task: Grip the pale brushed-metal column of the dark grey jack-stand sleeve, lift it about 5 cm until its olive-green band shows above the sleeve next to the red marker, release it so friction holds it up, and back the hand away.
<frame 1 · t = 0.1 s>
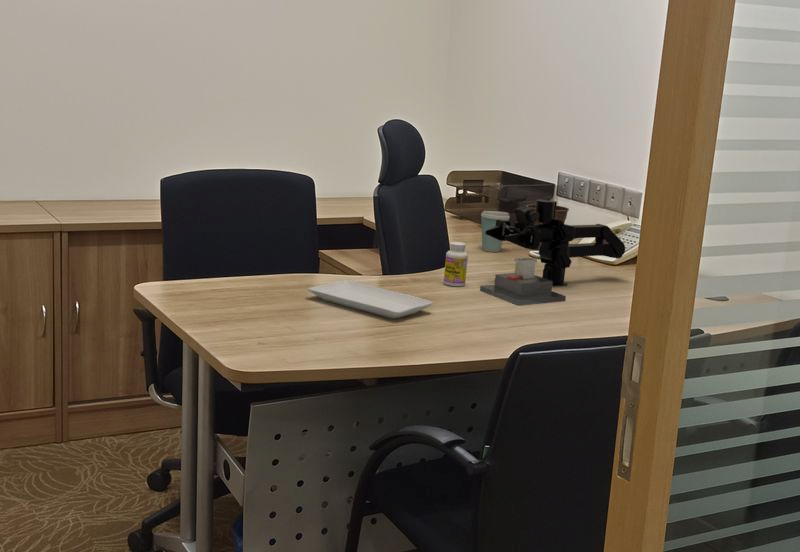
hand: (495, 235, 278), 17 cm above the table, tool horizontal, fingers open, 9 cm apart
disposable coffee cup: (491, 251, 345), on the table
tray: (369, 307, 251), on the table
supplement bottle: (454, 285, 284), on the table
column: (524, 277, 275), point 6 cm above the table, slide at 0.0 cm
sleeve: (522, 295, 276), on the table
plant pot: (543, 248, 359), on the table
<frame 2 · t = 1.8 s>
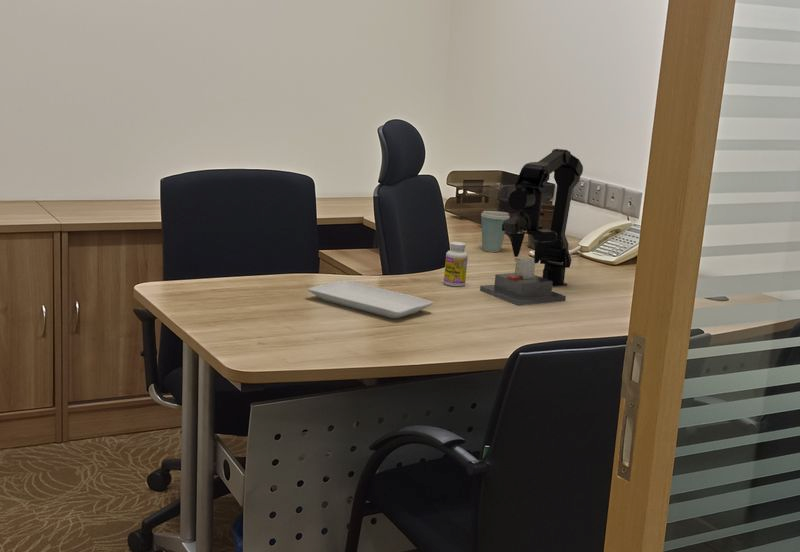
hand: (525, 259, 274), 11 cm above the table, tool pointing down, fingers open, 9 cm apart
nothing on the table moved.
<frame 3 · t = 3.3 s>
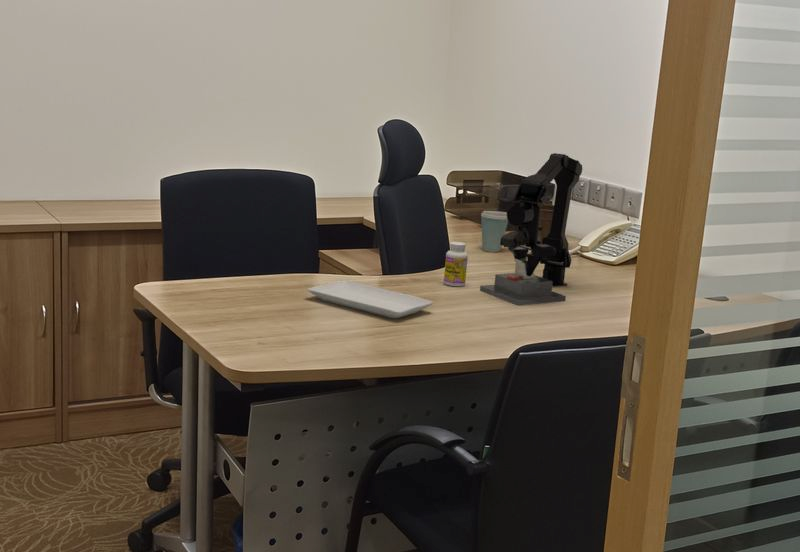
hand: (524, 274, 275), 6 cm above the table, tool pointing down, fingers closed on column, 4 cm apart
column: (524, 277, 275), point 6 cm above the table, slide at 0.0 cm, touching gripper
everything else where it was.
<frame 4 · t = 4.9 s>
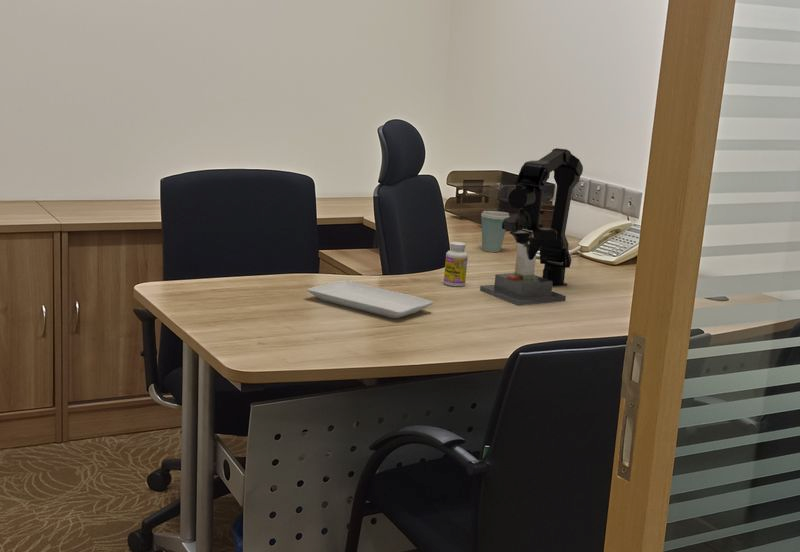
hand: (526, 258, 274), 11 cm above the table, tool pointing down, fingers closed on column, 4 cm apart
column: (525, 261, 274), point 11 cm above the table, slide at 4.9 cm, touching gripper
everything else where it was.
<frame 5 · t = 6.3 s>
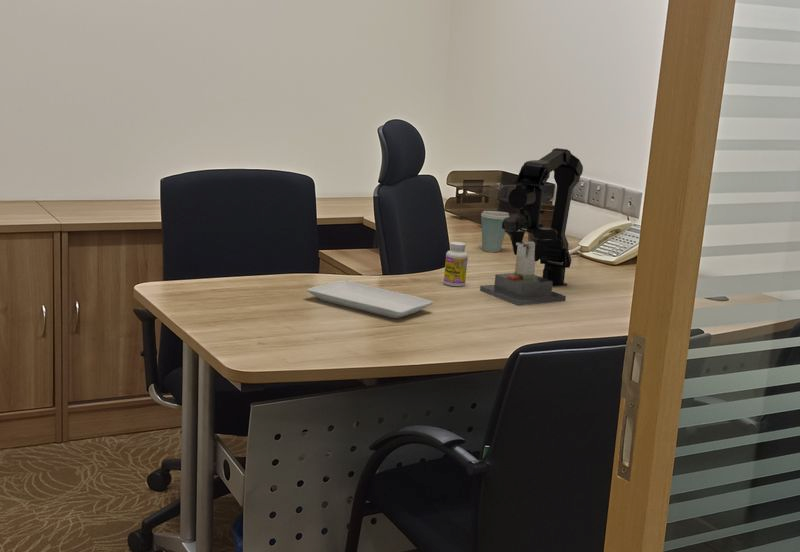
hand: (526, 257, 274), 11 cm above the table, tool pointing down, fingers open, 9 cm apart
column: (525, 260, 274), point 11 cm above the table, slide at 4.9 cm
everything else where it was.
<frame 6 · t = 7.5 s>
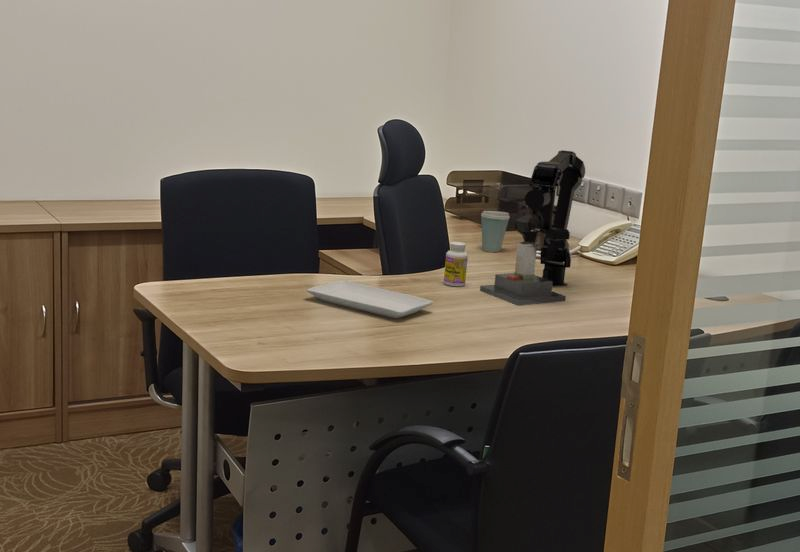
hand: (538, 257, 276), 11 cm above the table, tool pointing down, fingers open, 9 cm apart
nothing on the table moved.
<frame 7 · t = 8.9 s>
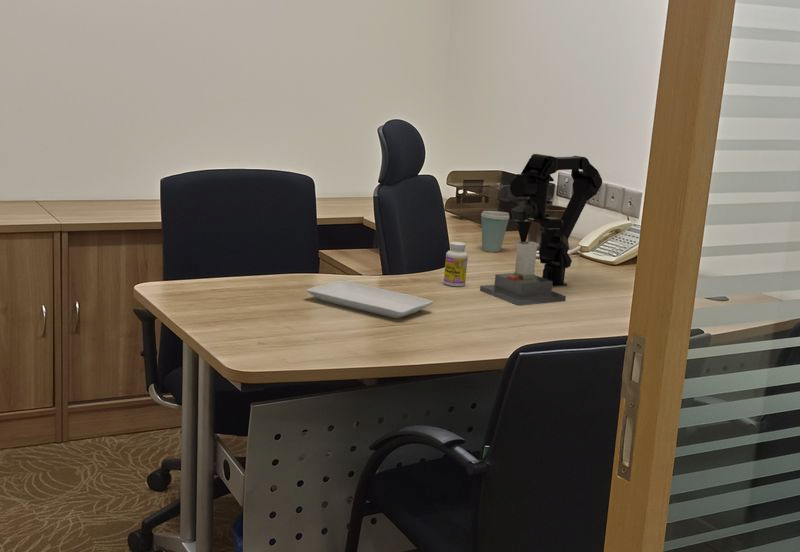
hand: (532, 246, 284), 13 cm above the table, tool pointing down, fingers open, 9 cm apart
nothing on the table moved.
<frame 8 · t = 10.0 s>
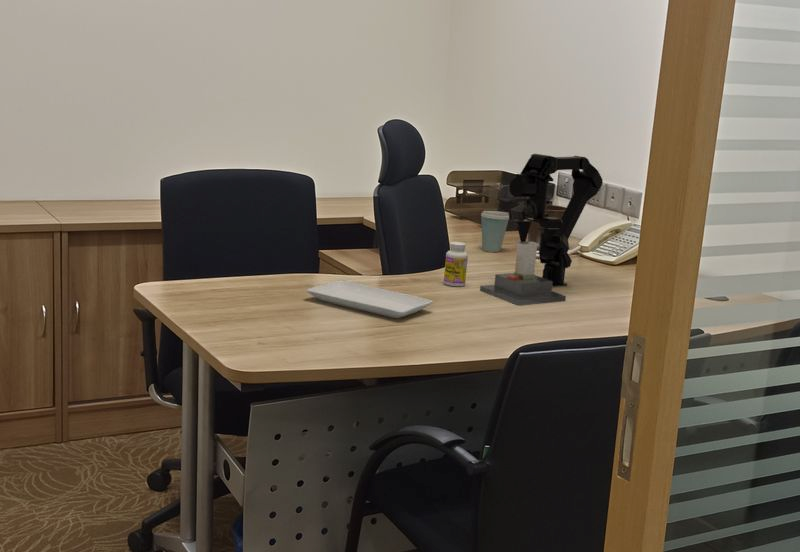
hand: (532, 246, 285), 13 cm above the table, tool pointing down, fingers open, 9 cm apart
nothing on the table moved.
at the end: column slide at 4.9 cm; the gripper is holding nothing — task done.
